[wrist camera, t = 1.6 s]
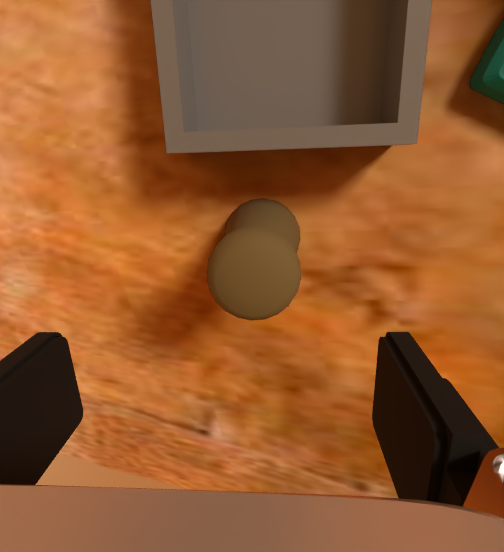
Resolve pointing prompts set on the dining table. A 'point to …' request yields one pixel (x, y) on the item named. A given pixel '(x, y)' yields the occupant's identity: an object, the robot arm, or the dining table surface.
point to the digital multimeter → (491, 68)
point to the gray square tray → (290, 73)
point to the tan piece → (256, 261)
